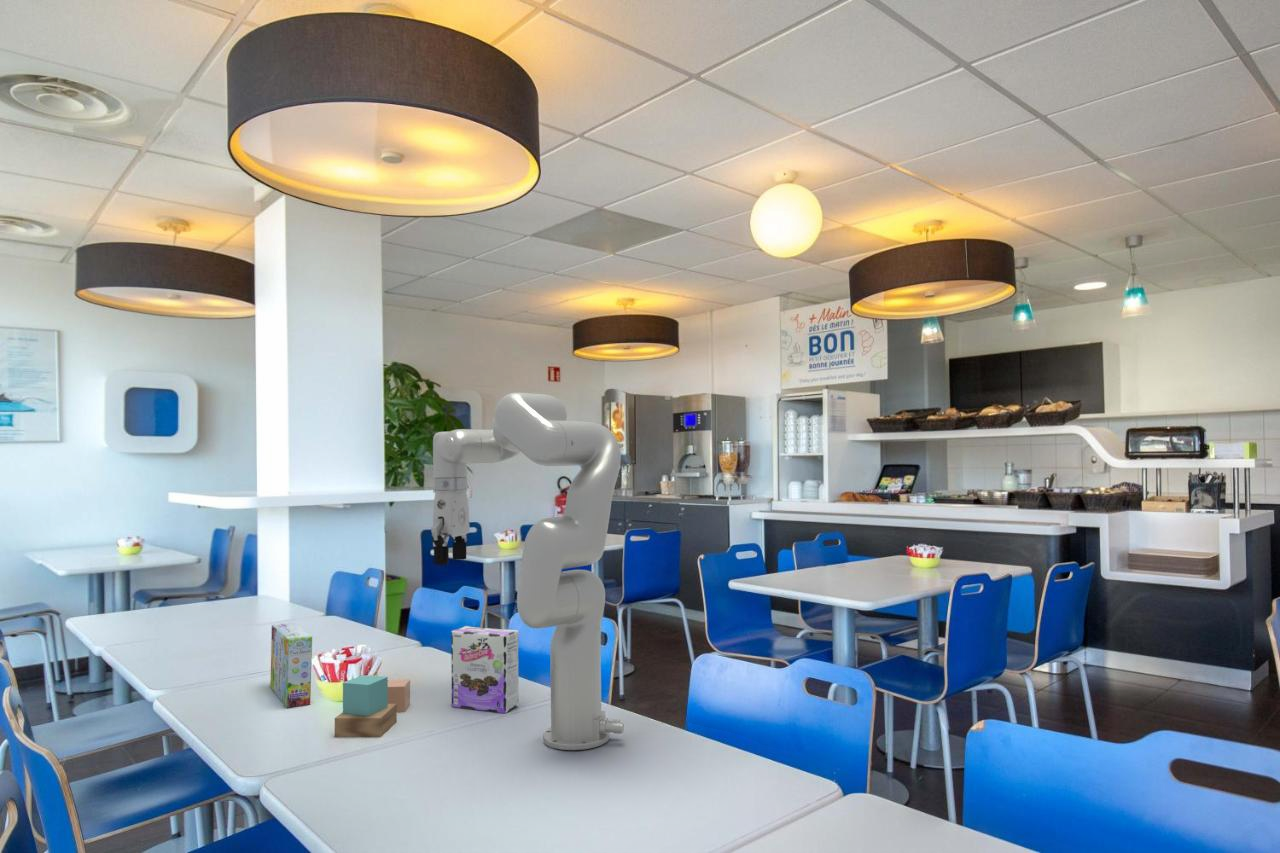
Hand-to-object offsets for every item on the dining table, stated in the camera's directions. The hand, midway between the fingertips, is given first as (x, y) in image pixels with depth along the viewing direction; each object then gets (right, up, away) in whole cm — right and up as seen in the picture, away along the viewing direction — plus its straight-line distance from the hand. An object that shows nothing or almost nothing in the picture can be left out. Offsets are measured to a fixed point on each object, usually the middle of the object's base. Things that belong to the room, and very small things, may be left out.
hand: (450, 561), depth 179 cm
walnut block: (-12, -30, -22) cm, 39 cm away
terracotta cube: (-10, -30, -9) cm, 33 cm away
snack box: (-37, -31, +3) cm, 49 cm away
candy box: (+9, -30, -8) cm, 33 cm away
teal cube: (-12, -26, -21) cm, 36 cm away
